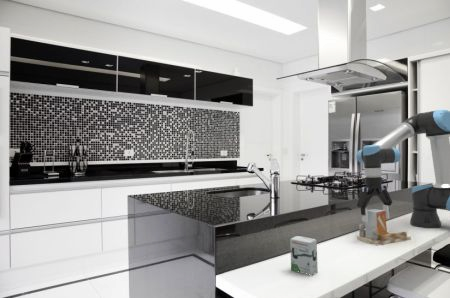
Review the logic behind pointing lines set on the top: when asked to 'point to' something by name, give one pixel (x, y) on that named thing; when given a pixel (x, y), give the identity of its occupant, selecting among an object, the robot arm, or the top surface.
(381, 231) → the small box
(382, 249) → the top surface
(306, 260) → the ink box
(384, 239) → the board
